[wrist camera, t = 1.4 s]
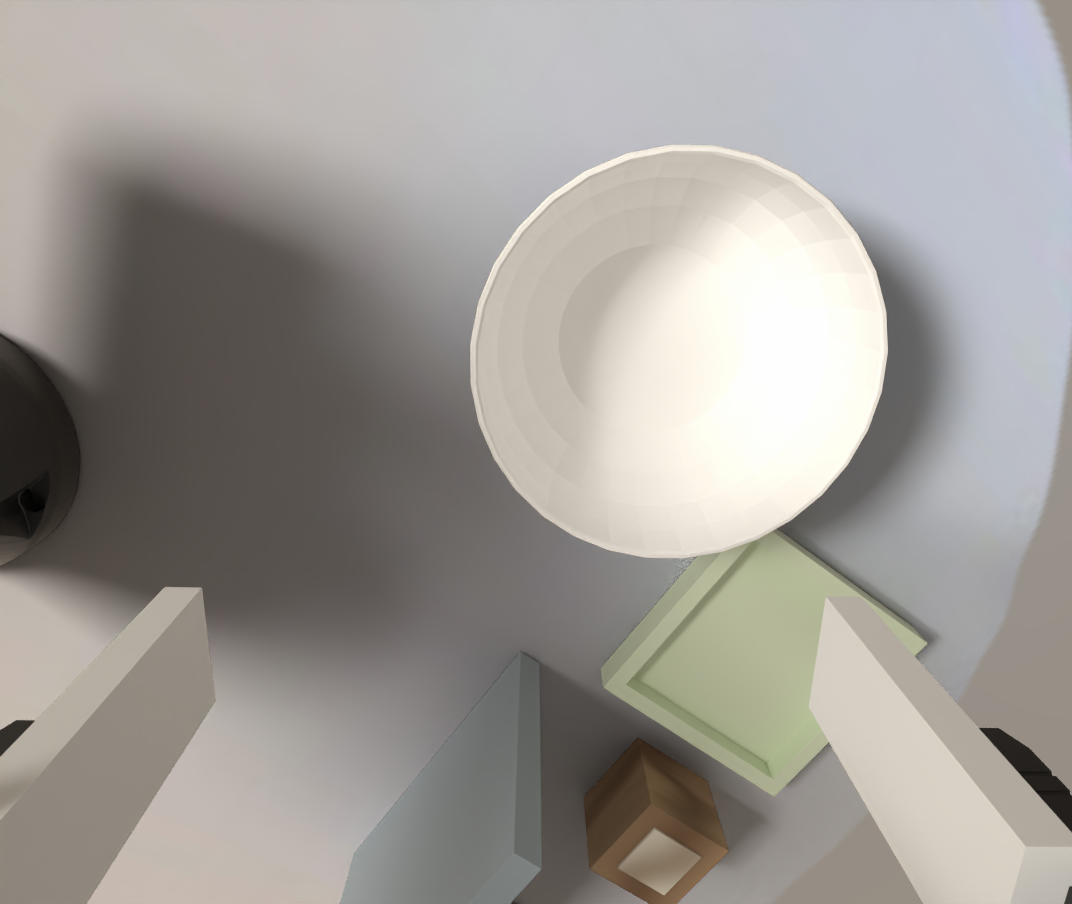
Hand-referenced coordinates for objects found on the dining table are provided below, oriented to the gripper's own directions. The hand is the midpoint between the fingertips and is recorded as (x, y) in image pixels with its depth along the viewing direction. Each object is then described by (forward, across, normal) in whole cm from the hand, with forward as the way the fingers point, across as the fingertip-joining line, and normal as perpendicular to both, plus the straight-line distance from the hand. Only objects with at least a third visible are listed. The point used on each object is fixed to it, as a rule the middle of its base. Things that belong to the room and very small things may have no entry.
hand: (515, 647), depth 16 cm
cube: (+28, +9, -28) cm, 41 cm away
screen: (+28, -5, -26) cm, 39 cm away
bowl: (+28, +7, +2) cm, 29 cm away
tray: (+28, +15, -17) cm, 36 cm away
